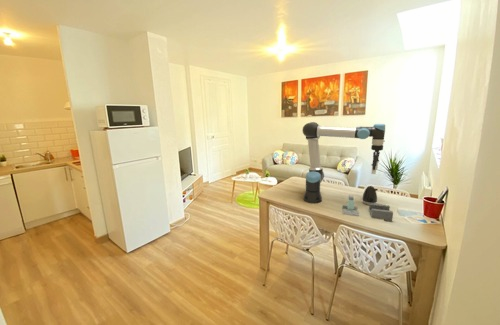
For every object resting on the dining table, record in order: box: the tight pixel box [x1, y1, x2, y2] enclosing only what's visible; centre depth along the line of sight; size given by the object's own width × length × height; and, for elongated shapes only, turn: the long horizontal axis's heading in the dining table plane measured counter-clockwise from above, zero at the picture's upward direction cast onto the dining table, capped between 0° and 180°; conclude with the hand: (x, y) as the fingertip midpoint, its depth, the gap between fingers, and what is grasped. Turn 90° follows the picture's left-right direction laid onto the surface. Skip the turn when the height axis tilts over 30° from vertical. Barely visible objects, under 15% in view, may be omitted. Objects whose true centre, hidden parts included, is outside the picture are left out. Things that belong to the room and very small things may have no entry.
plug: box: [346, 194, 355, 210], centre depth 149 cm, size 4×5×12 cm
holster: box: [341, 204, 360, 217], centre depth 150 cm, size 10×10×4 cm
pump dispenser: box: [361, 185, 379, 206], centre depth 161 cm, size 10×10×15 cm
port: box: [368, 203, 394, 223], centre depth 144 cm, size 12×12×7 cm
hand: (374, 171), depth 161 cm, fingers open, 13 cm apart
